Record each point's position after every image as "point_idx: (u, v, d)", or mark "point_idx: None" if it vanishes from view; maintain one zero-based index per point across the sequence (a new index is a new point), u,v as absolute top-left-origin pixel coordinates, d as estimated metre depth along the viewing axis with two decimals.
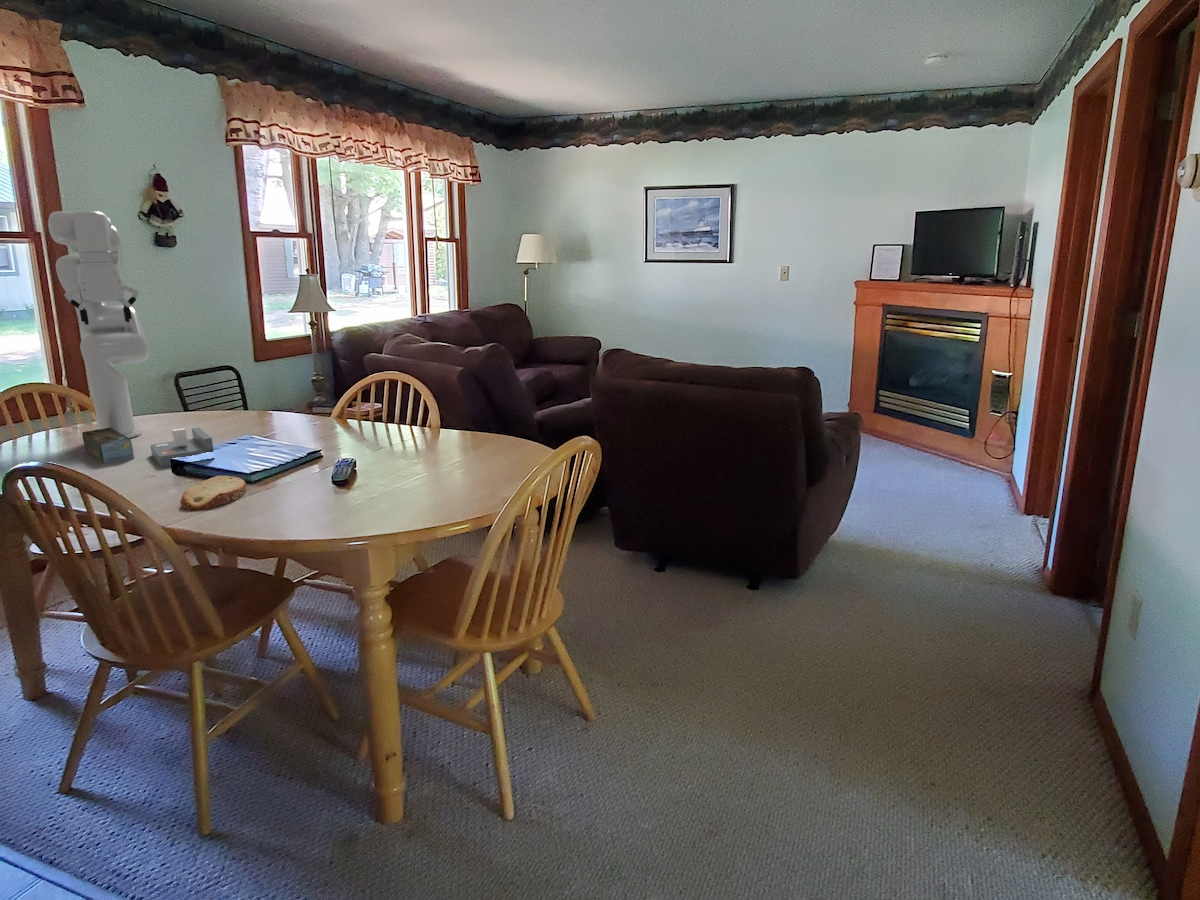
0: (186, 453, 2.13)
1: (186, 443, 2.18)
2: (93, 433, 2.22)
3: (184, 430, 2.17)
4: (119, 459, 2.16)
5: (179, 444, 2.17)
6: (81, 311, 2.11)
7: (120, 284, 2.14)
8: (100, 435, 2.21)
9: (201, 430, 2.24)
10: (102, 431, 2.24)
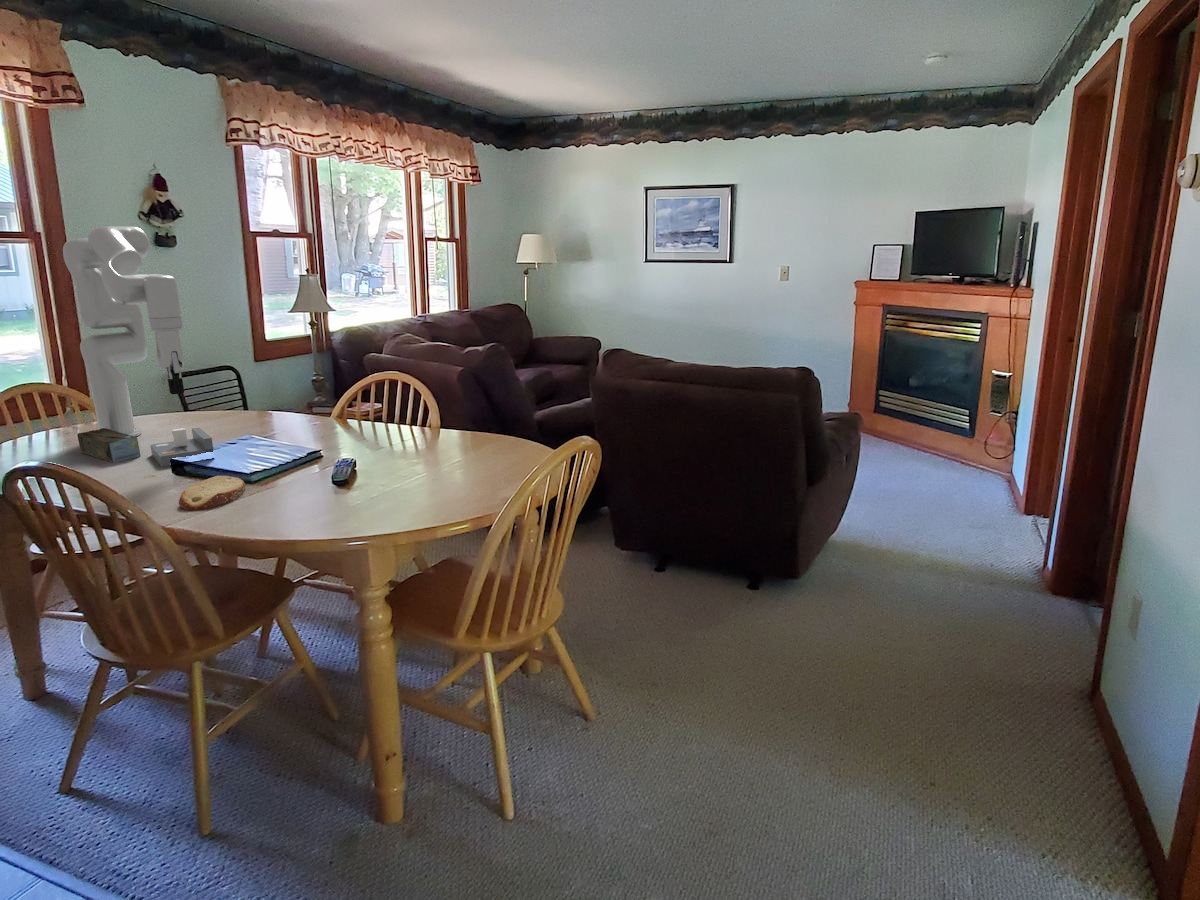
0: (186, 453, 2.13)
1: (186, 443, 2.18)
2: (92, 434, 2.22)
3: (184, 430, 2.17)
4: (127, 458, 2.18)
5: (179, 444, 2.17)
6: (179, 380, 2.08)
7: None
8: (101, 435, 2.20)
9: (201, 430, 2.24)
10: (100, 431, 2.24)
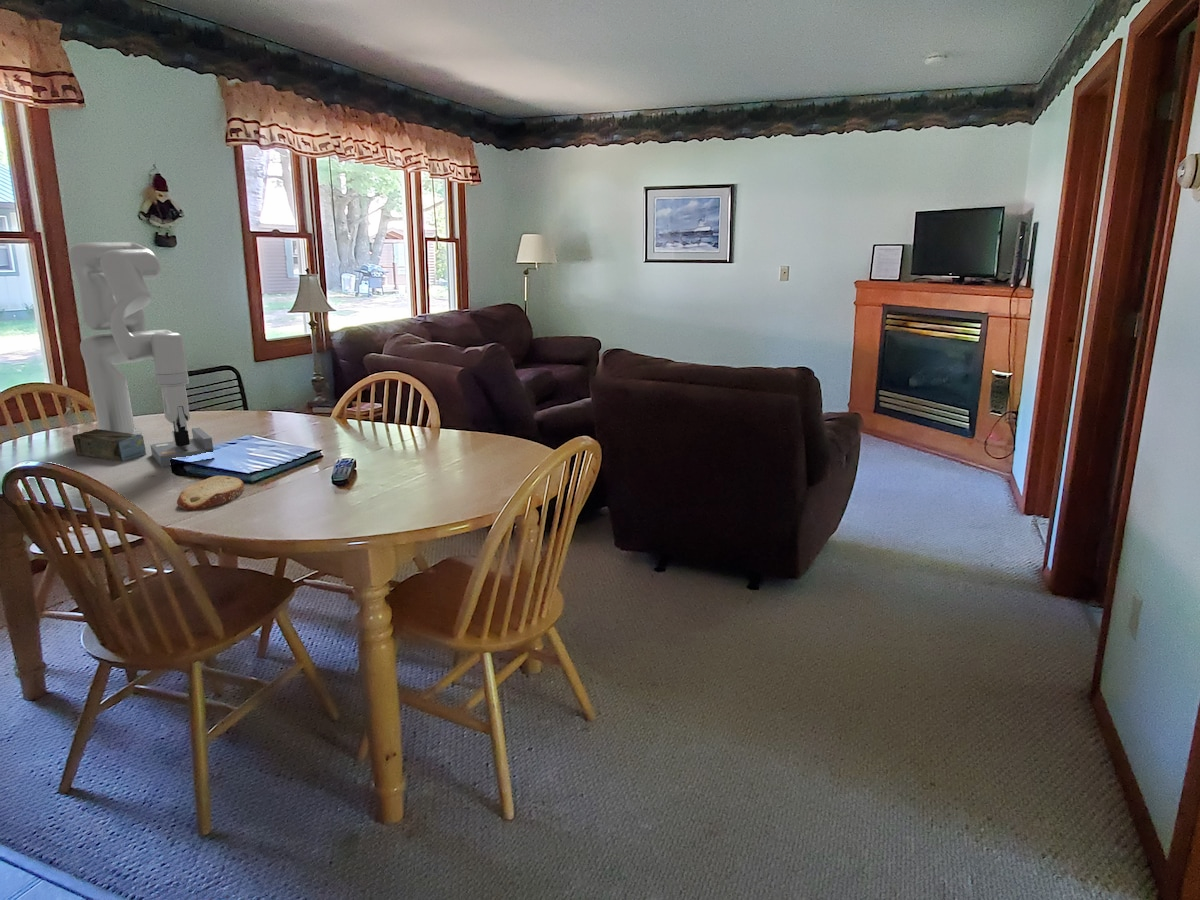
0: (186, 453, 2.13)
1: None
2: (90, 434, 2.21)
3: None
4: (134, 456, 2.19)
5: None
6: (185, 432, 2.14)
7: None
8: (102, 435, 2.20)
9: (201, 430, 2.24)
10: (97, 432, 2.23)
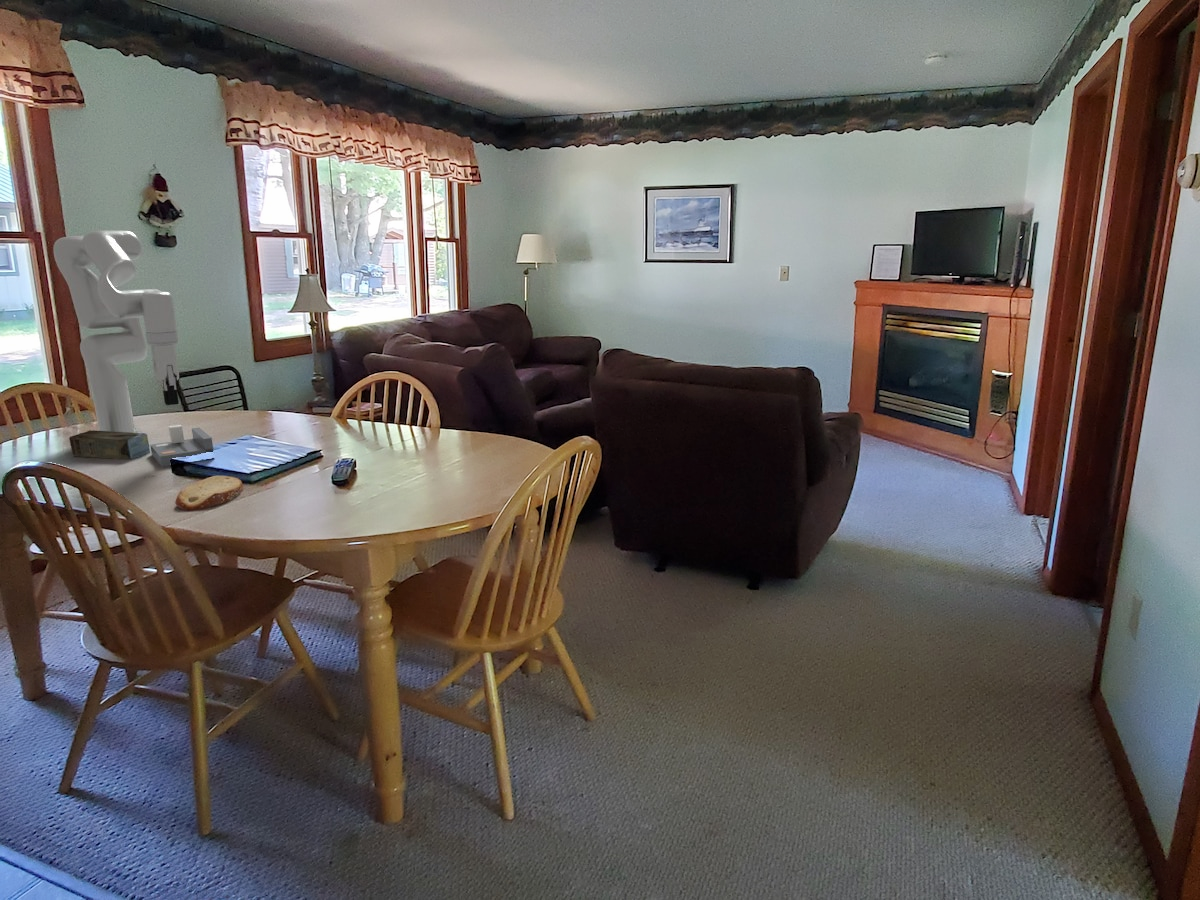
0: (186, 453, 2.13)
1: (182, 440, 2.22)
2: (89, 435, 2.20)
3: (180, 427, 2.21)
4: (140, 454, 2.21)
5: (176, 441, 2.21)
6: (174, 392, 2.17)
7: None
8: (103, 435, 2.20)
9: (201, 430, 2.24)
10: (95, 433, 2.22)
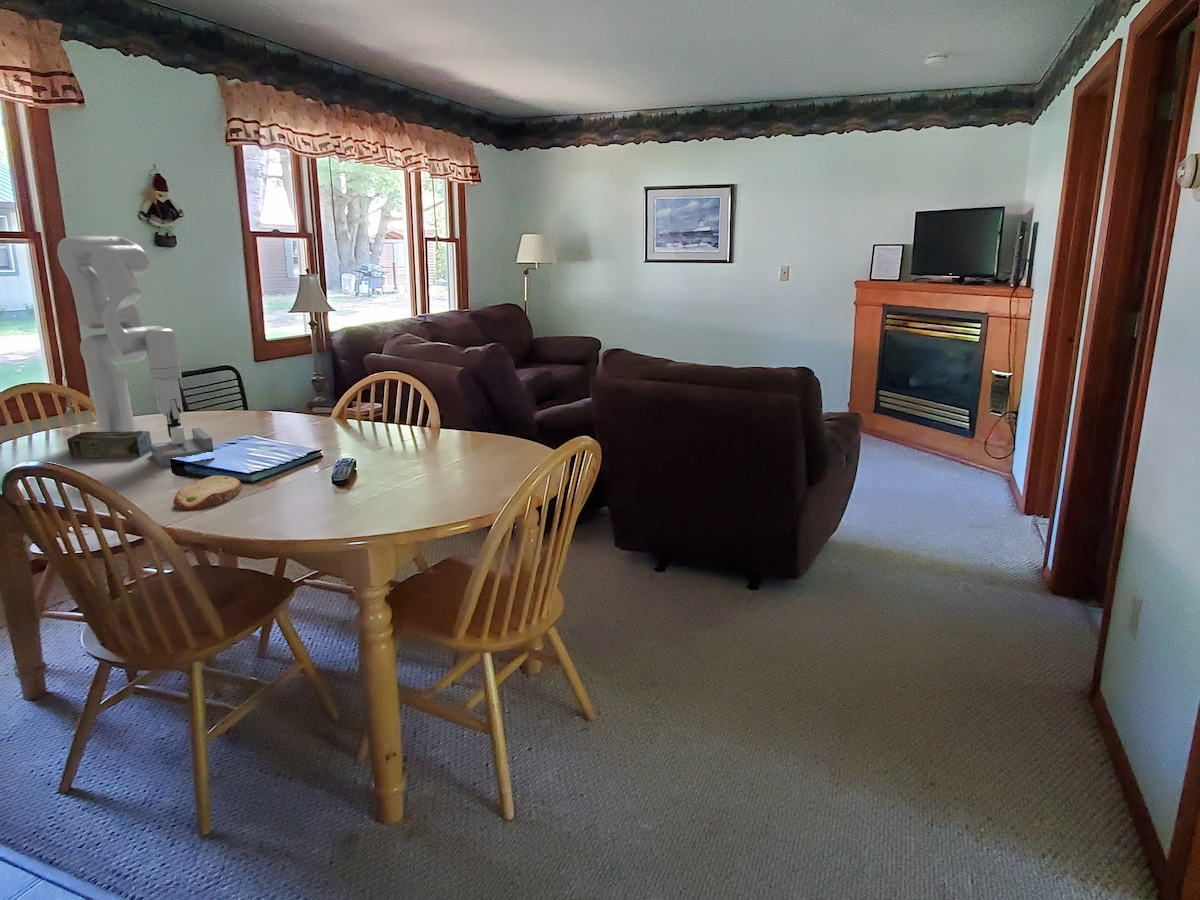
0: (186, 453, 2.13)
1: (184, 441, 2.21)
2: (89, 436, 2.19)
3: (182, 428, 2.20)
4: (146, 451, 2.24)
5: (177, 442, 2.20)
6: (178, 425, 2.22)
7: None
8: (104, 435, 2.20)
9: (201, 430, 2.24)
10: (92, 433, 2.21)
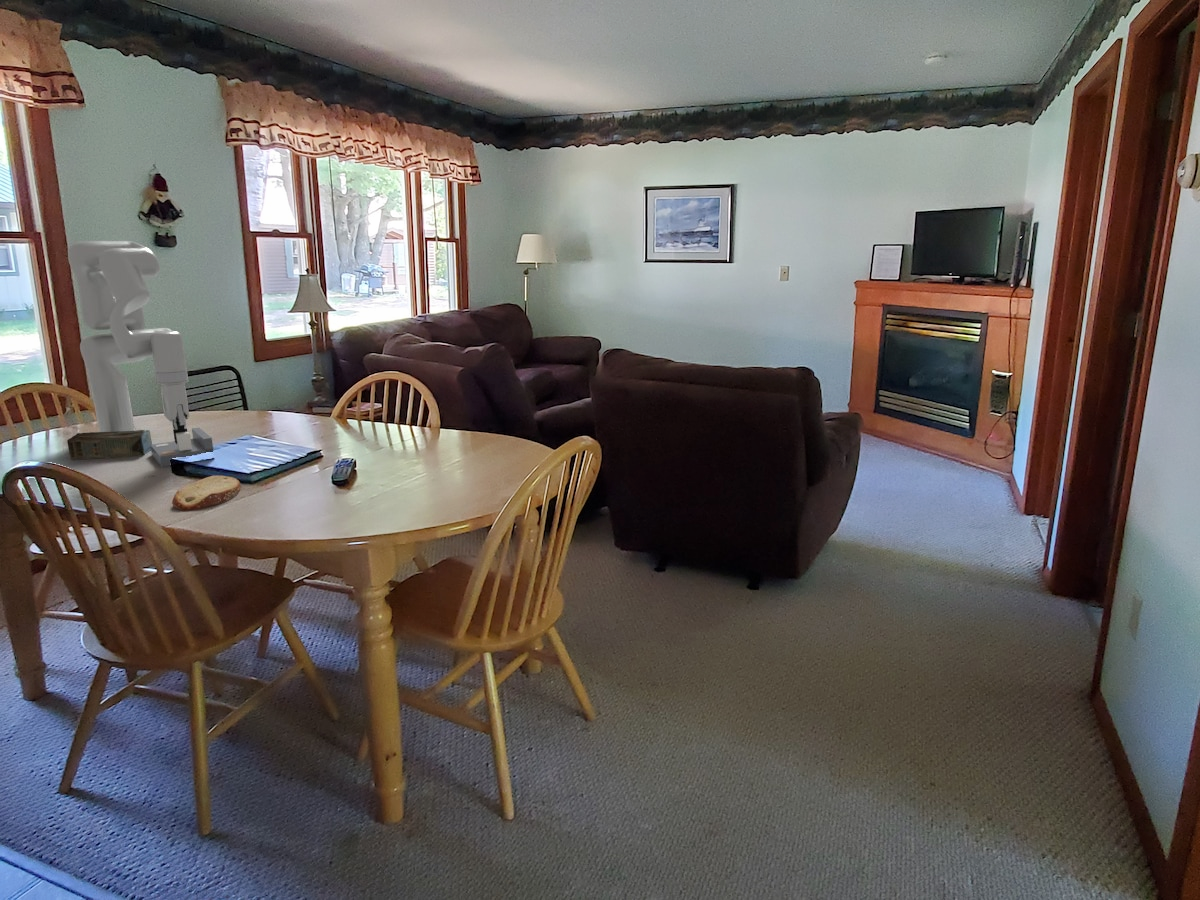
0: (186, 453, 2.13)
1: (190, 447, 2.14)
2: (90, 436, 2.19)
3: (188, 434, 2.13)
4: (148, 450, 2.25)
5: (183, 448, 2.13)
6: (184, 430, 2.15)
7: None
8: (105, 435, 2.20)
9: (201, 430, 2.24)
10: (91, 434, 2.21)
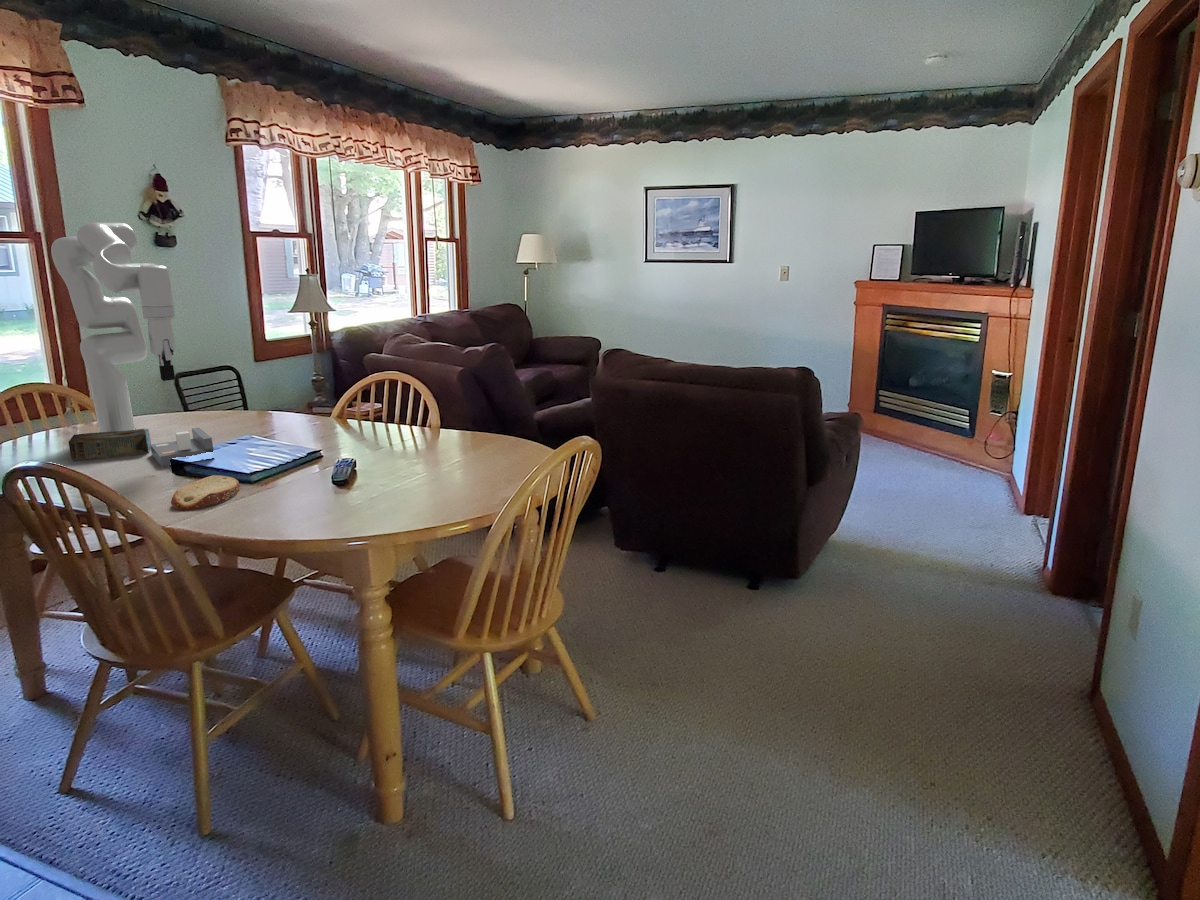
0: (186, 453, 2.13)
1: (190, 447, 2.14)
2: (91, 437, 2.18)
3: (188, 433, 2.13)
4: (150, 448, 2.27)
5: (183, 448, 2.13)
6: (170, 367, 2.15)
7: None
8: (106, 435, 2.20)
9: (201, 430, 2.24)
10: (91, 434, 2.20)
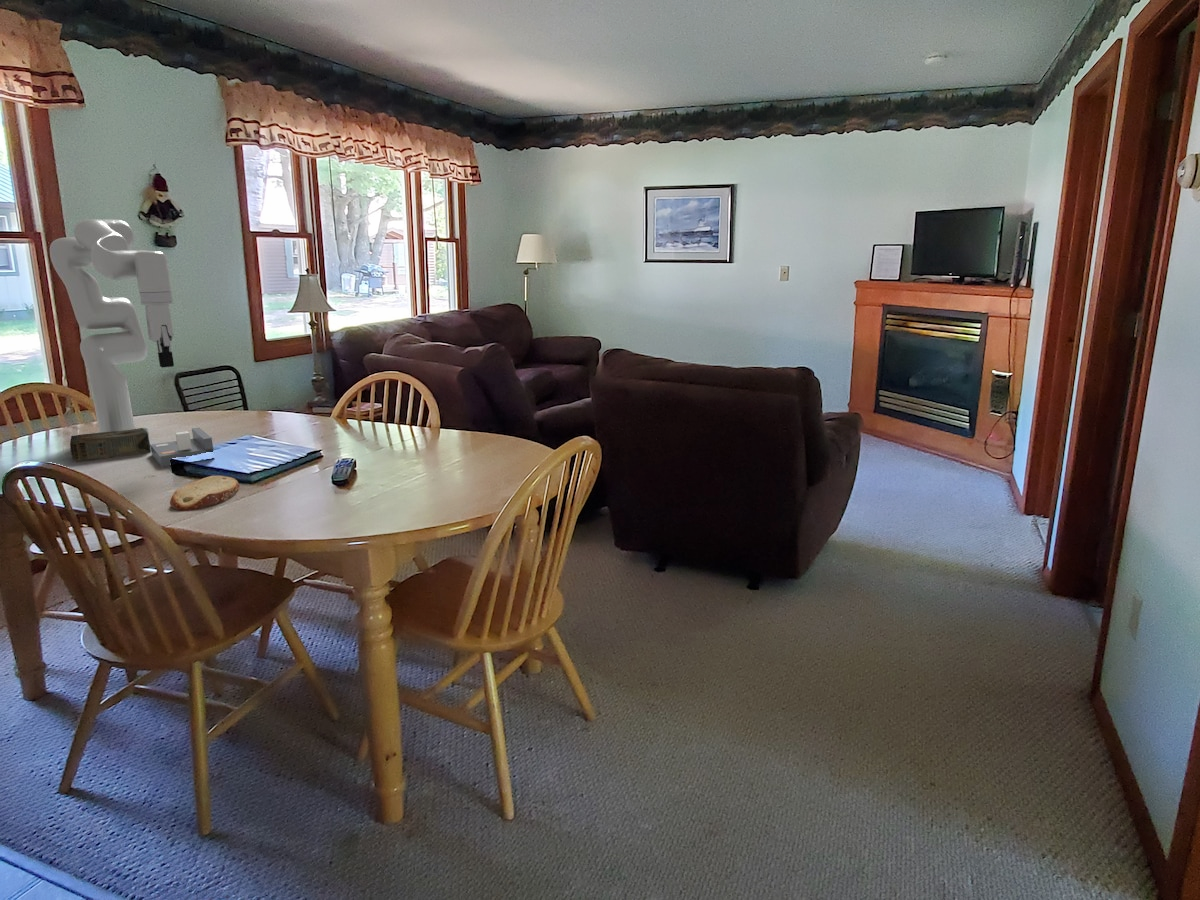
0: (186, 453, 2.13)
1: (190, 447, 2.14)
2: (92, 437, 2.18)
3: (188, 433, 2.13)
4: None
5: (183, 448, 2.13)
6: (169, 353, 2.14)
7: None
8: (107, 435, 2.21)
9: (201, 430, 2.24)
10: (91, 435, 2.20)
